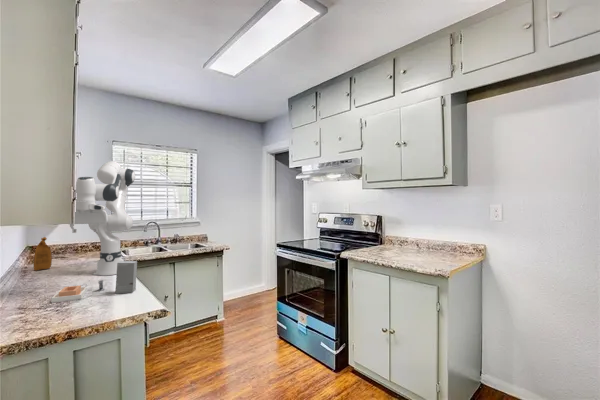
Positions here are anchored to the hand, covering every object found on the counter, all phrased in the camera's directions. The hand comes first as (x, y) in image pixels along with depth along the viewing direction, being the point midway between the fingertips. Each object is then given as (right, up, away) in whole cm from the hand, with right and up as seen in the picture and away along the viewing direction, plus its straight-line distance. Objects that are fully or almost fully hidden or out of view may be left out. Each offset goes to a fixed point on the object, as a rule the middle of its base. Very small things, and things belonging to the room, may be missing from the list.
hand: (85, 232), depth 160 cm
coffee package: (-66, -31, +50) cm, 88 cm away
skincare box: (+24, -31, -3) cm, 40 cm away
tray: (+1, -31, -12) cm, 33 cm away
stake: (+9, -31, -1) cm, 32 cm away
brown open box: (+2, -30, -13) cm, 33 cm away
